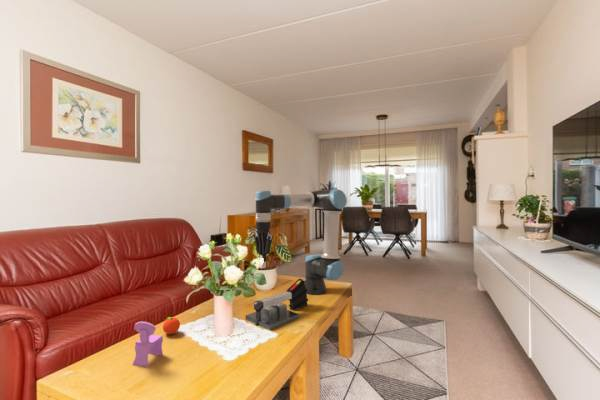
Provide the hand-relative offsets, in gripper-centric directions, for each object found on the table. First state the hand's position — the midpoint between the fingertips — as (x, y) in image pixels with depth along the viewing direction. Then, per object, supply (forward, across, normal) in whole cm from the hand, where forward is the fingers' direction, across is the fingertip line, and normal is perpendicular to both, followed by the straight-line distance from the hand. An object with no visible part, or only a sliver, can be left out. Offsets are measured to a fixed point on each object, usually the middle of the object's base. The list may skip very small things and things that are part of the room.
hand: (263, 267), depth 153 cm
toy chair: (+25, +1, -56) cm, 61 cm away
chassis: (+24, +7, 0) cm, 25 cm away
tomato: (+24, -14, -41) cm, 50 cm away
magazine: (+24, +6, +19) cm, 32 cm away
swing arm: (+17, +7, 0) cm, 18 cm away
